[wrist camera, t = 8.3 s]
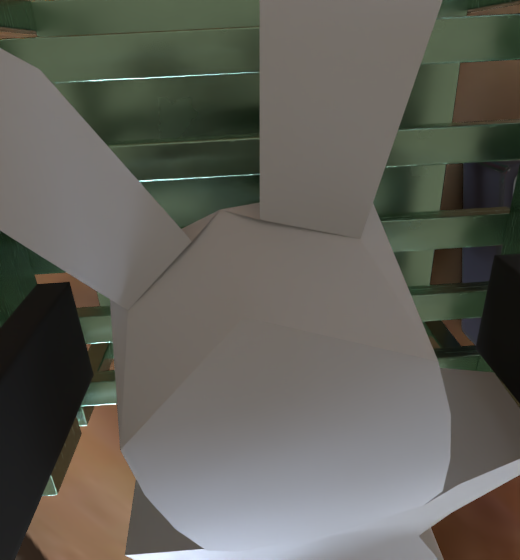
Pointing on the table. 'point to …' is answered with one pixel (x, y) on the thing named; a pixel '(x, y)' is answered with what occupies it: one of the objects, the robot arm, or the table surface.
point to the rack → (256, 143)
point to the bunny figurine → (269, 311)
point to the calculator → (484, 194)
